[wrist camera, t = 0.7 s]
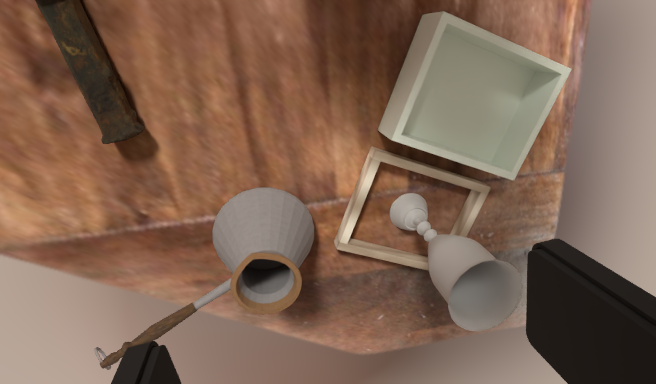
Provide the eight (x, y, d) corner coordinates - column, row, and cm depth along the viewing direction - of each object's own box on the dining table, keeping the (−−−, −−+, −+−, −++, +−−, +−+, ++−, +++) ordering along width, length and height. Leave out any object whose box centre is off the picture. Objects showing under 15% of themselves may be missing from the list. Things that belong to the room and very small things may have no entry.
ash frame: (371, 146, 45) (376, 150, 43) (482, 181, 50) (491, 187, 48) (334, 241, 49) (336, 249, 47) (440, 266, 53) (447, 274, 51)
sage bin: (422, 14, 41) (443, 11, 36) (539, 66, 45) (571, 69, 41) (377, 130, 45) (391, 140, 40) (489, 167, 49) (513, 180, 44)
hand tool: (150, 129, 41) (138, 139, 36) (112, 139, 40) (95, 150, 36) (65, -81, 33) (38, -99, 29) (18, -71, 33) (-17, -89, 29)
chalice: (436, 228, 51) (523, 318, 34) (388, 243, 50) (452, 340, 34) (430, 178, 48) (521, 249, 32) (378, 193, 48) (443, 273, 31)
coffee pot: (291, 164, 44) (307, 219, 31) (323, 244, 49) (350, 324, 35) (116, 232, 44) (51, 320, 30) (165, 307, 48) (129, 413, 34)
